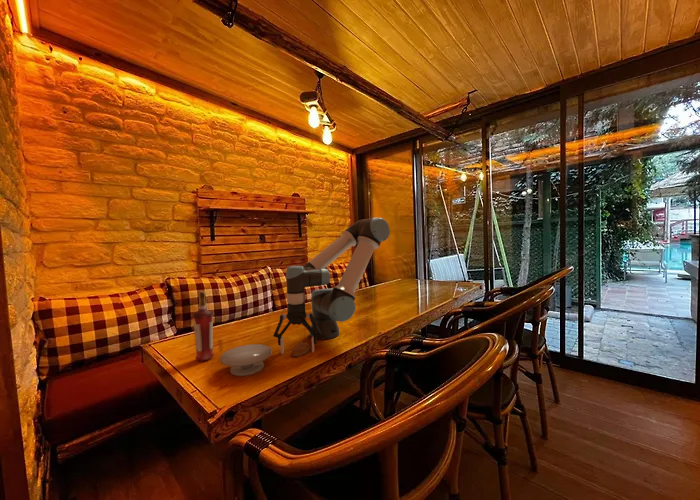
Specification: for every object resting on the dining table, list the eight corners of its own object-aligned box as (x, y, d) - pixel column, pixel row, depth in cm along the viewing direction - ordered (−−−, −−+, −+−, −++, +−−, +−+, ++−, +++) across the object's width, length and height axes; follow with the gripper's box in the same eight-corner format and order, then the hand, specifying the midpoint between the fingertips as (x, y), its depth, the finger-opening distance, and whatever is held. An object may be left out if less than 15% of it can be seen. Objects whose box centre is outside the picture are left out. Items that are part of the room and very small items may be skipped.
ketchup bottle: (193, 358, 120) (190, 292, 119) (212, 353, 125) (209, 289, 123) (196, 364, 114) (193, 294, 113) (216, 359, 119) (213, 291, 118)
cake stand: (276, 357, 118) (276, 343, 118) (265, 379, 100) (264, 362, 100) (232, 359, 118) (231, 345, 117) (212, 381, 100) (211, 364, 100)
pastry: (301, 358, 117) (301, 349, 117) (287, 357, 119) (286, 348, 119) (311, 350, 126) (311, 341, 126) (297, 348, 128) (297, 340, 128)
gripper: (325, 299, 127) (327, 347, 127) (269, 301, 126) (271, 349, 127) (324, 303, 119) (326, 354, 120) (264, 305, 118) (266, 356, 119)
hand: (297, 352), depth 123 cm, fingers open, 12 cm apart
